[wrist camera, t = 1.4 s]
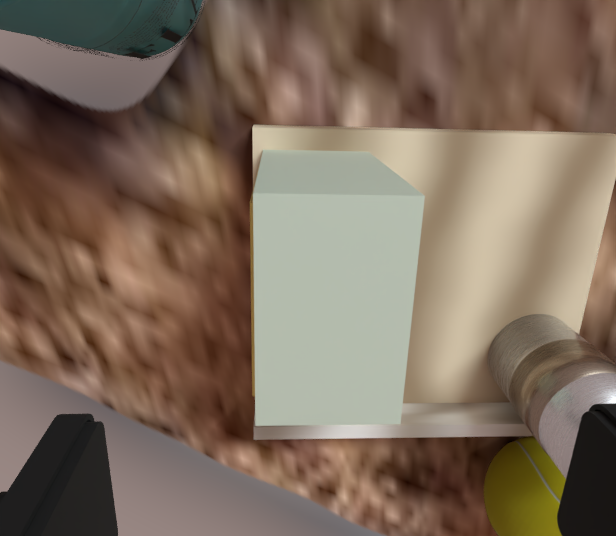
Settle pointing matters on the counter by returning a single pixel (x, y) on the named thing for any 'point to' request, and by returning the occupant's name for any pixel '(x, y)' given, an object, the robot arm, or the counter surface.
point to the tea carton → (331, 287)
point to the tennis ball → (523, 490)
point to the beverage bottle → (104, 23)
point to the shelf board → (475, 257)
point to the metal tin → (550, 379)
